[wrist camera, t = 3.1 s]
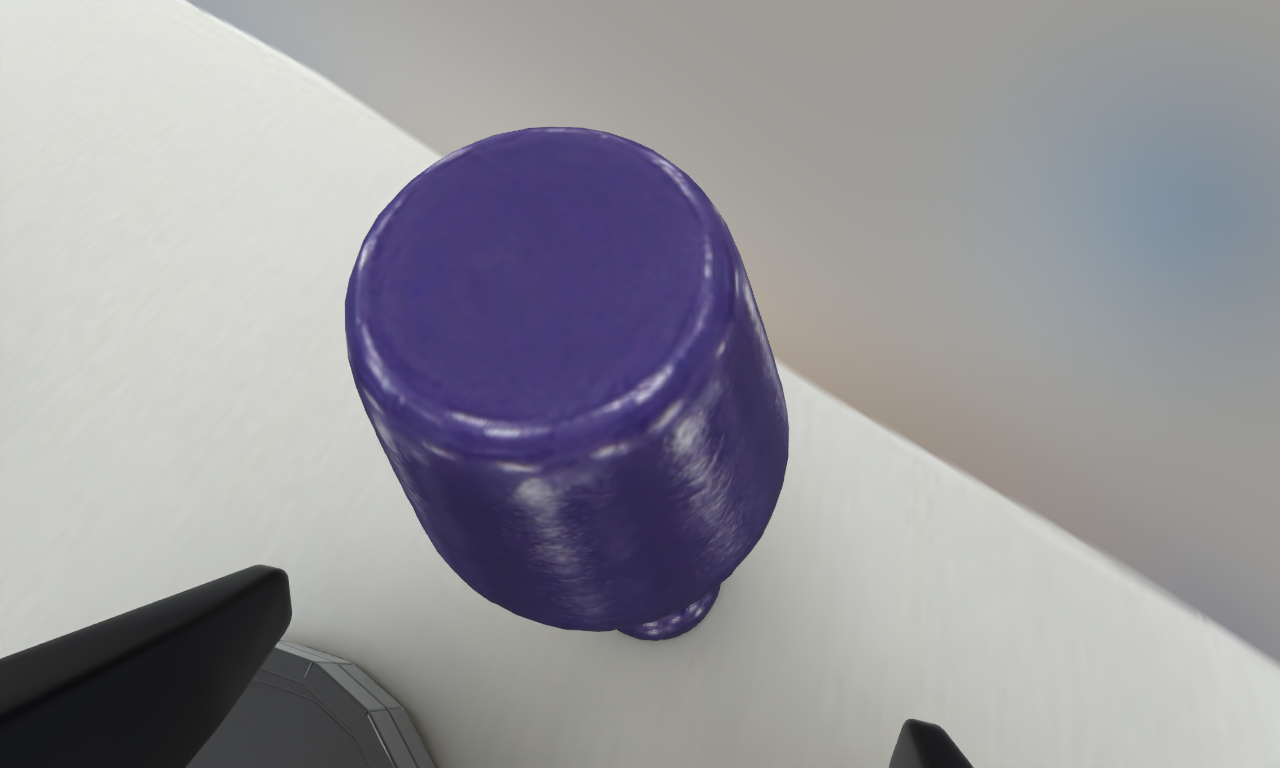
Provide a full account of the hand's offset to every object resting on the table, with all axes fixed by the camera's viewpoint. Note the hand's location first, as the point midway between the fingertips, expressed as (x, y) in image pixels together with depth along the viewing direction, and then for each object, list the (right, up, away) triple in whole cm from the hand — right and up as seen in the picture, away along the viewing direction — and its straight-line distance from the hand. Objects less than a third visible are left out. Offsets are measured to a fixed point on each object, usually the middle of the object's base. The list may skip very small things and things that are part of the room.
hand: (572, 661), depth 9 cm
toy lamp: (+1, -2, +11) cm, 11 cm away
